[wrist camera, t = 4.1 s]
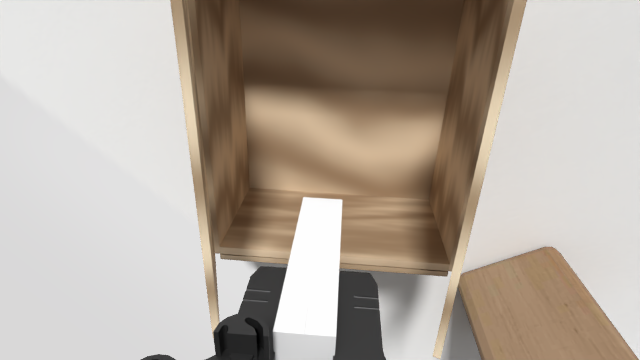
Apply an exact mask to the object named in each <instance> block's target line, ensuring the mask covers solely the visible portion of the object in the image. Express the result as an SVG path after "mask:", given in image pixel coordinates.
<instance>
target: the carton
mask: <svg viewBox="0 0 640 360" xmlns="http://www.w3.org/2000/svg"><path fill="white" fill-rule="evenodd" d="M513 3H514V0H188V9H189V18H190V28H191V37H192V46H193V55H194V64H195V74H196V83H197V92H198V101H199V111H200V120H201V129H202V138H203V147H204V157H205V166H206V175H207V184H208V194H209V203H210V212H211V221H212V230H213V240H214V249H215V253H220V257H221V259H228V260H229V259H230V260H241V261H254V262H267V263H280V264H288V263H289V258H290V254H291V249H292V245H293V240H294V236H295V232H296V227H297V223H298V218H299V214H300V210H301V205H302V201H303V197H309V198H325V199H341V200H342V220H341V242H340V264H339V268H344V269H357V270H370V271H383V272H396V273H408V274H421V275H434V276H447V275H448V271H452V269H453V265H454V261H455V256H456V252H457V248H458V243H459V239H460V234H461V230H462V226H463V221H464V217H465V213H466V208H467V204H468V199H469V195H470V191H471V186H472V182H473V178H474V173H475V169H476V164H477V160H478V156H479V151H480V147H481V143H482V138H483V134H484V129H485V125H486V121H487V116H488V112H489V108H490V103H491V99H492V94H493V90H494V86H495V81H496V77H497V73H498V68H499V64H500V59H501V55H502V51H503V46H504V42H505V38H506V33H507V29H508V24H509V20H510V16H511V11H512V7H513Z"/></svg>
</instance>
